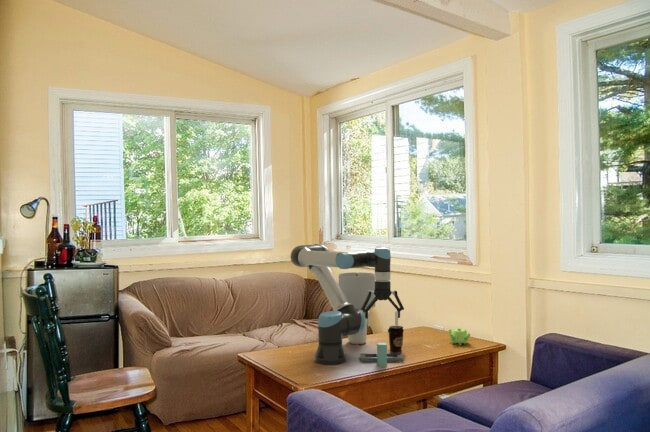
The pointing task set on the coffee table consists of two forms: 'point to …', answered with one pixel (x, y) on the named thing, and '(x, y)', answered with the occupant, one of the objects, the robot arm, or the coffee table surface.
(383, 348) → the teal brick
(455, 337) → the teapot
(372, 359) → the grey flat frame
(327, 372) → the coffee table surface
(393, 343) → the coffee cup
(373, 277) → the lamp
